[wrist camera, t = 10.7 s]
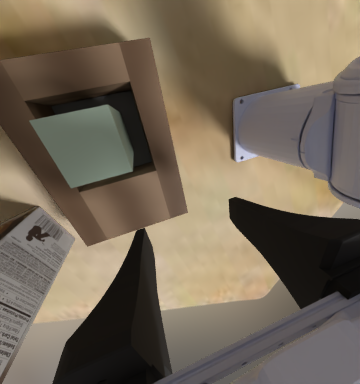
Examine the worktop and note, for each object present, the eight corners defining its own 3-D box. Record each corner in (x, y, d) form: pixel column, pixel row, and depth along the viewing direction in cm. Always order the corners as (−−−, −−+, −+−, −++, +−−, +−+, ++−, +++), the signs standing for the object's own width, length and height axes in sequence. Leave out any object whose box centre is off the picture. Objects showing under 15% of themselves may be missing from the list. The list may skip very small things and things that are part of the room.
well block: (146, 58, 14) (149, 37, 11) (179, 197, 22) (187, 212, 18) (7, 81, 13) (-42, 66, 9) (95, 224, 20) (87, 246, 17)
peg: (120, 112, 15) (107, 104, 8) (133, 151, 17) (132, 171, 10) (79, 121, 15) (28, 120, 8) (98, 160, 16) (70, 188, 9)
